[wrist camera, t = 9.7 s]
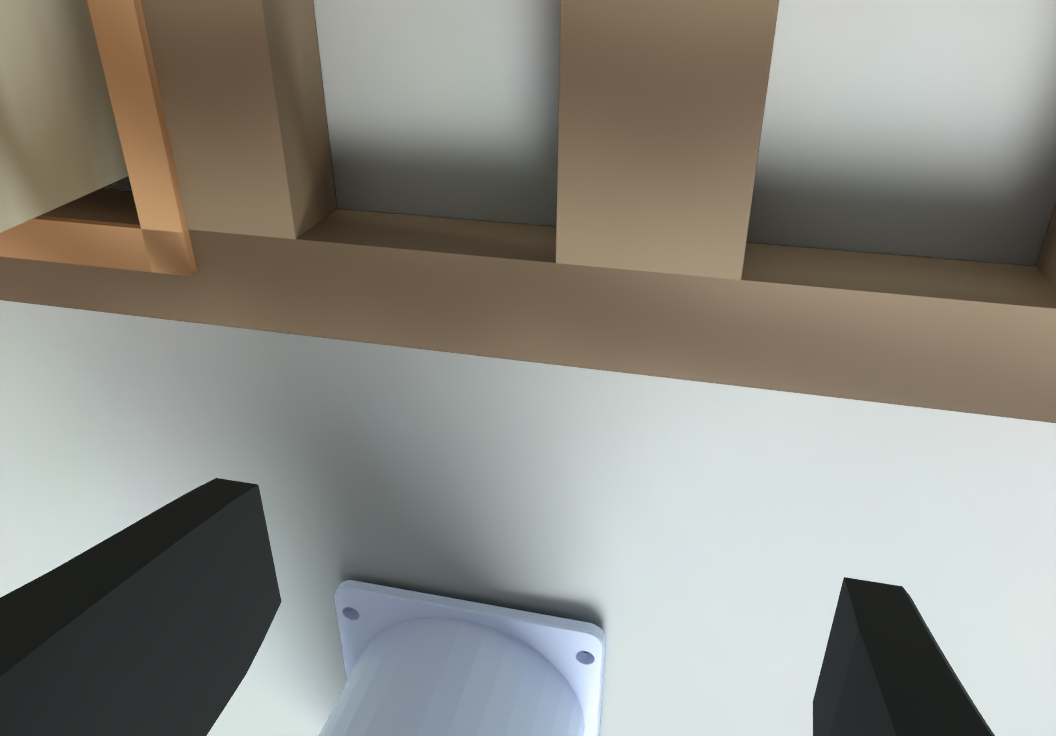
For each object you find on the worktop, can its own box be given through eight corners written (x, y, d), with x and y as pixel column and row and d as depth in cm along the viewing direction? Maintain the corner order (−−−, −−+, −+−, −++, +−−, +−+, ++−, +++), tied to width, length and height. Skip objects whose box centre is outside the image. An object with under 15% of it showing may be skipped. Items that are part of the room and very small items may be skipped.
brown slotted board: (1181, 387, 16) (1236, 449, 15) (-74, 254, 23) (-149, 286, 21) (1459, -233, 12) (1594, -258, 10) (-240, -189, 18) (-359, -200, 16)
